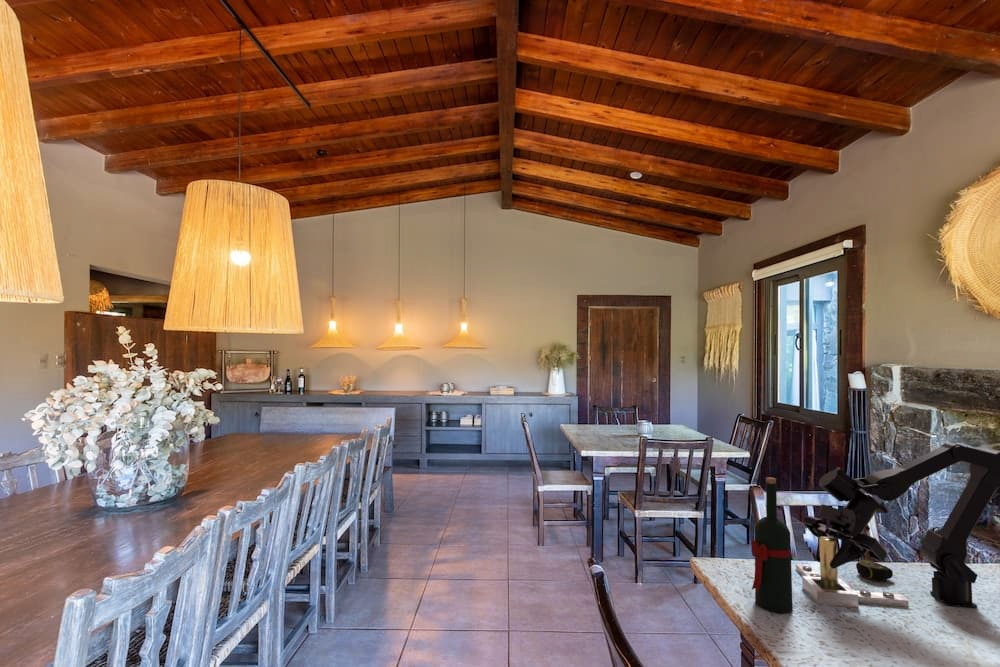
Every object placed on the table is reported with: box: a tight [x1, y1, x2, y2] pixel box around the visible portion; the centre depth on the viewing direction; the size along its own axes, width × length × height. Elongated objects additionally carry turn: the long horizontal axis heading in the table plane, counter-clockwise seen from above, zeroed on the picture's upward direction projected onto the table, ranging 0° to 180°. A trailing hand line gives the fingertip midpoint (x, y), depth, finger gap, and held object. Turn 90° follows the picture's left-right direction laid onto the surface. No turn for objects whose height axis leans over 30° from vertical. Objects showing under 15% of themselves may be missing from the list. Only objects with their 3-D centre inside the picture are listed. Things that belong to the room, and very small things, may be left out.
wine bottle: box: [750, 476, 794, 615], centre depth 119 cm, size 8×10×30 cm
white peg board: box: [795, 563, 910, 609], centre depth 128 cm, size 21×21×3 cm
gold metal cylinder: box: [819, 537, 839, 590], centre depth 123 cm, size 4×4×12 cm
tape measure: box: [855, 559, 894, 582], centre depth 135 cm, size 7×7×4 cm
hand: (824, 564), depth 123 cm, fingers closed on gold metal cylinder, 4 cm apart
